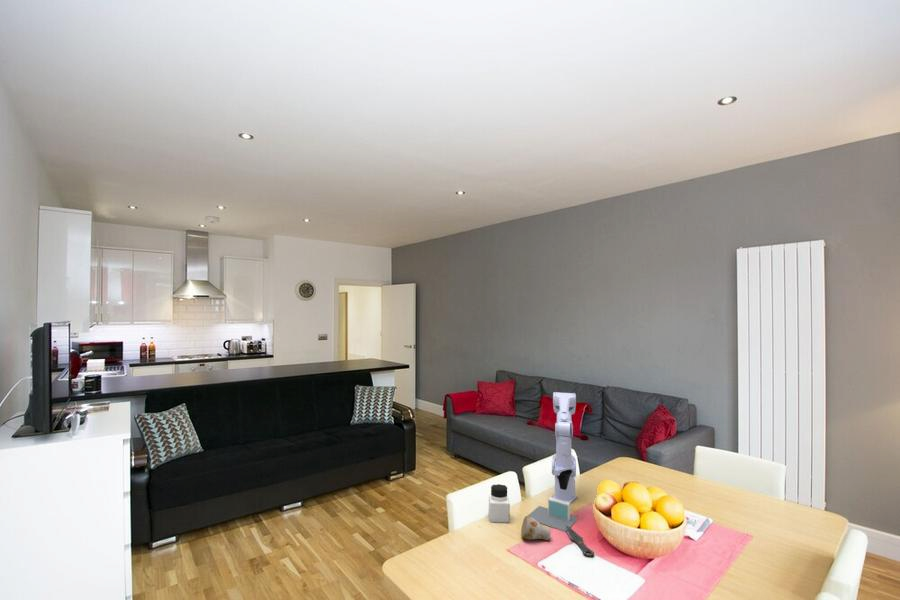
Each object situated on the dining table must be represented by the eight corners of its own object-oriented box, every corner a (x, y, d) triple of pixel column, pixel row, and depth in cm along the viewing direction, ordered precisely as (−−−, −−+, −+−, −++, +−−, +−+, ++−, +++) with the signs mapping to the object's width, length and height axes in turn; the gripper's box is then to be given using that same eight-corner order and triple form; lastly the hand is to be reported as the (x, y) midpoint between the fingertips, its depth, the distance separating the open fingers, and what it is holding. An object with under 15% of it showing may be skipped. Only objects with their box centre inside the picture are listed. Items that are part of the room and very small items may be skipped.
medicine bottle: (509, 522, 154) (509, 489, 154) (489, 522, 154) (490, 489, 155) (507, 513, 161) (507, 482, 162) (488, 513, 161) (489, 481, 162)
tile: (549, 513, 161) (549, 497, 162) (570, 519, 157) (570, 503, 157) (547, 515, 160) (548, 499, 160) (568, 521, 155) (568, 504, 156)
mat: (539, 506, 168) (539, 505, 168) (578, 518, 158) (578, 517, 158) (524, 518, 157) (524, 517, 157) (566, 532, 148) (566, 531, 148)
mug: (554, 545, 140) (541, 520, 138) (528, 554, 142) (514, 530, 141) (552, 529, 147) (540, 505, 146) (527, 537, 149) (514, 514, 148)
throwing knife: (584, 557, 132) (584, 555, 132) (558, 525, 152) (559, 523, 152) (597, 556, 133) (597, 554, 133) (570, 524, 152) (570, 523, 152)
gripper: (567, 460, 155) (566, 497, 154) (580, 450, 167) (580, 485, 166) (548, 456, 159) (548, 492, 158) (563, 447, 171) (562, 481, 170)
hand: (563, 488), depth 162 cm, fingers closed
